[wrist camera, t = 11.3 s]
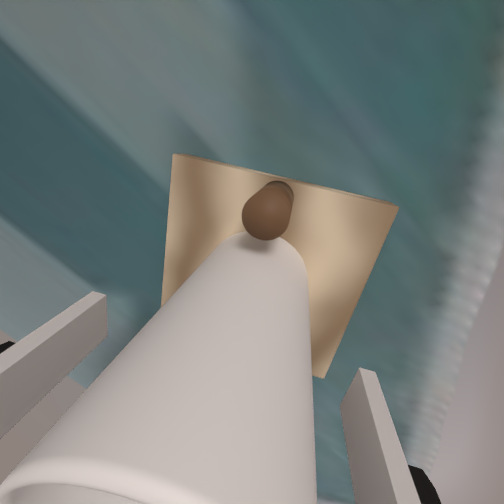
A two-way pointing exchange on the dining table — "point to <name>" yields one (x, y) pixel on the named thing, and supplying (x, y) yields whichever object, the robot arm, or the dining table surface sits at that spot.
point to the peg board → (309, 232)
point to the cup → (195, 398)
